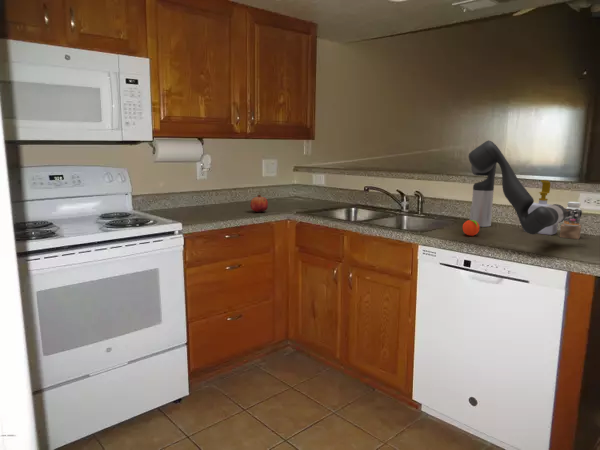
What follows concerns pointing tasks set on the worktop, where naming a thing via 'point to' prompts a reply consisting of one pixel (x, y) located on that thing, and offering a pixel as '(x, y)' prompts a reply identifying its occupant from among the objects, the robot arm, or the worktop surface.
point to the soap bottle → (543, 202)
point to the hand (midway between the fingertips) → (565, 210)
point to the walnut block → (570, 231)
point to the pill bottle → (571, 220)
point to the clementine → (471, 227)
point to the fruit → (259, 204)
